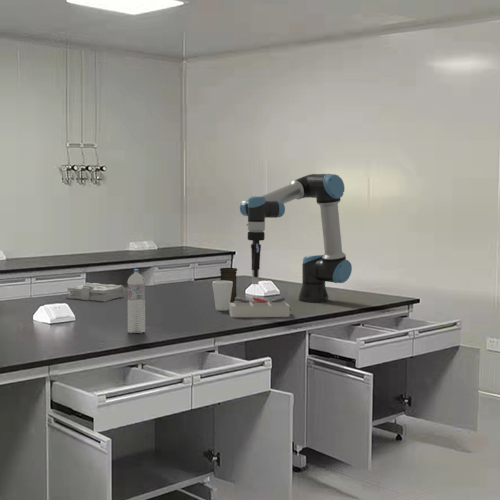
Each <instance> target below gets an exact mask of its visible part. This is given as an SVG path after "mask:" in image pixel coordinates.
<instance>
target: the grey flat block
mask: <svg viewBox="0 0 500 500" xmlns="http://www.w3.org/2000/svg"><path fill="white" fill-rule="evenodd" d="M125 291H126V290H125V287H124V285H122V284H120V285H119V284H118V285H117V284H104V283H103V284H101V283H99V282H92V283H90V282H85V284H81V285H75V286H74V285H73V286H68V287H67V292H69V293H68V295H67V299H70V300H71V299H72V300H76V299H77V300H82V301H97V302H109V301H112V300H114V299H121V298H124V296H125V293H126V292H125Z"/></svg>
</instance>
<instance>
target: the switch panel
mask: <svg viewBox="0 0 500 500" xmlns="http://www.w3.org/2000/svg"><path fill="white" fill-rule="evenodd" d="M290 307H291V306H290V305H289V304H288V302H286V301H285V300H284V301H280V302H276V303H271V301H270V300H269V301H267V303H262V302H258V301H254V300H251V302H249V303H244V302H240V301H234V303H229V310H228V313H229V316H230V317H231V318H288V317H289V318H290V315H291V314H290V312H291V310H292V309H291V308H290Z"/></svg>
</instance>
